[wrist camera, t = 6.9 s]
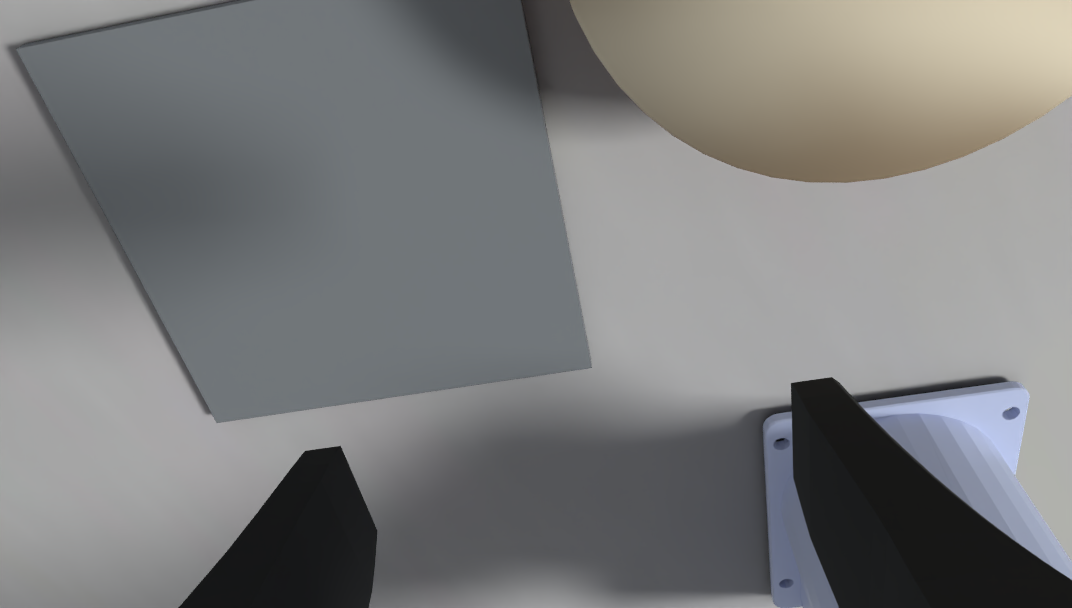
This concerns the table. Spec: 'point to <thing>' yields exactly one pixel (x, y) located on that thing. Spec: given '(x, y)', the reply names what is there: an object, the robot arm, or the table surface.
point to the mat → (328, 194)
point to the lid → (836, 77)
